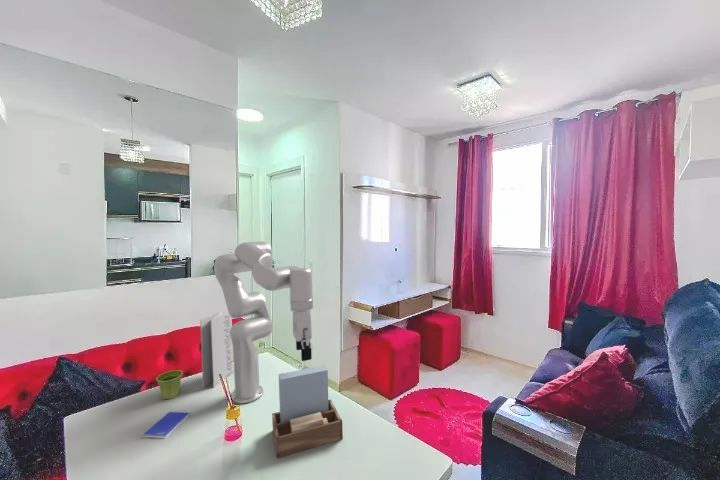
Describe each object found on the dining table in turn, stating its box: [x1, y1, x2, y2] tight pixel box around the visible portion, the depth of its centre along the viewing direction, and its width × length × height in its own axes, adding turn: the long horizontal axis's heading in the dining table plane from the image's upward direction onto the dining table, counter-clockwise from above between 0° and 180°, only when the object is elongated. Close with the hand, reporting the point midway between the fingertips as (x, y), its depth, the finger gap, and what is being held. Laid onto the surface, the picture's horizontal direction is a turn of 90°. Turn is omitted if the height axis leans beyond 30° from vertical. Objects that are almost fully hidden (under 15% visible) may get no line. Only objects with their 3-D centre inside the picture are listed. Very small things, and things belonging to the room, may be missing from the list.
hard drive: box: [141, 411, 190, 439], centre depth 106 cm, size 2×8×12 cm
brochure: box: [199, 310, 234, 388], centre depth 138 cm, size 14×6×30 cm, turn 168°
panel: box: [278, 364, 329, 423], centre depth 102 cm, size 4×16×20 cm, turn 112°
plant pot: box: [155, 369, 184, 400], centre depth 125 cm, size 9×9×9 cm
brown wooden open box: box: [271, 399, 344, 459], centre depth 100 cm, size 13×21×6 cm, turn 112°
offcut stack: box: [290, 412, 328, 433], centre depth 97 cm, size 4×14×8 cm, turn 112°
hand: (303, 354), depth 101 cm, fingers open, 9 cm apart
